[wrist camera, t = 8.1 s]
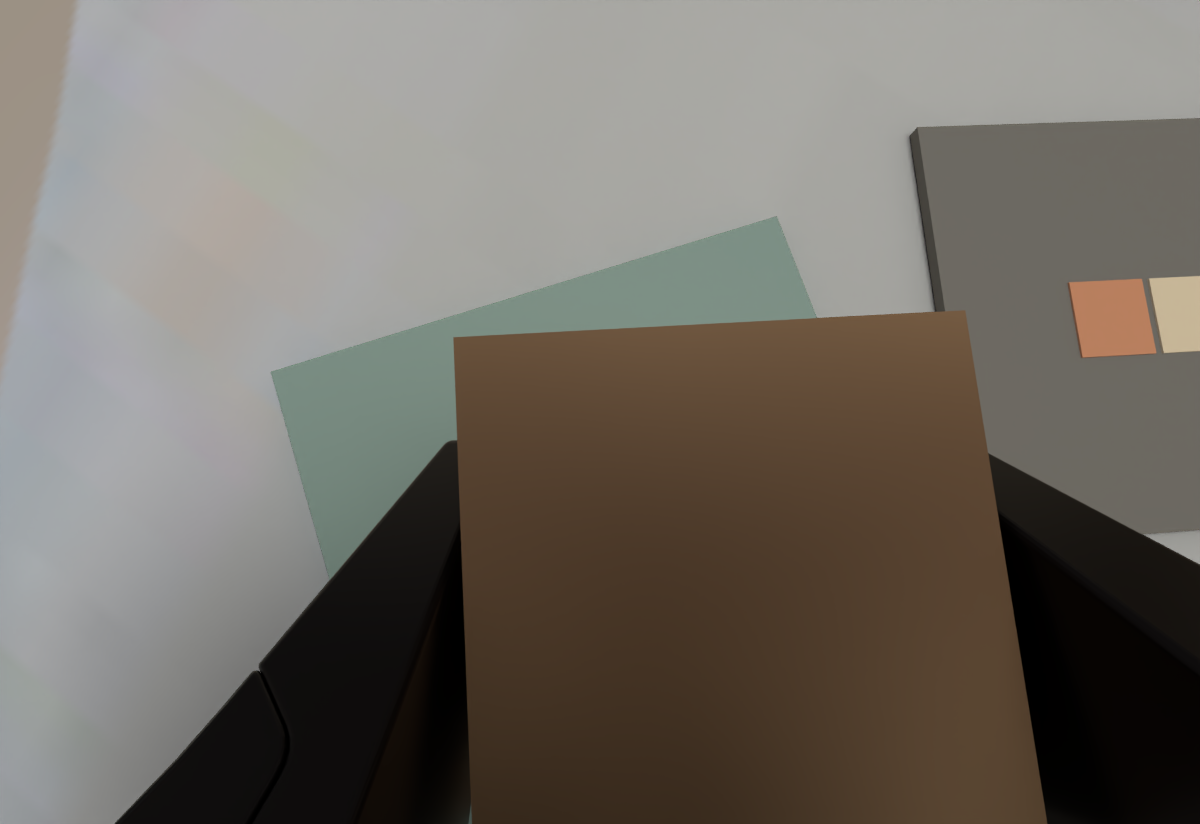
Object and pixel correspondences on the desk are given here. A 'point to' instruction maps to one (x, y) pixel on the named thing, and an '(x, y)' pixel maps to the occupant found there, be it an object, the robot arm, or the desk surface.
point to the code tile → (1078, 301)
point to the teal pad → (426, 353)
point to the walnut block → (737, 578)
